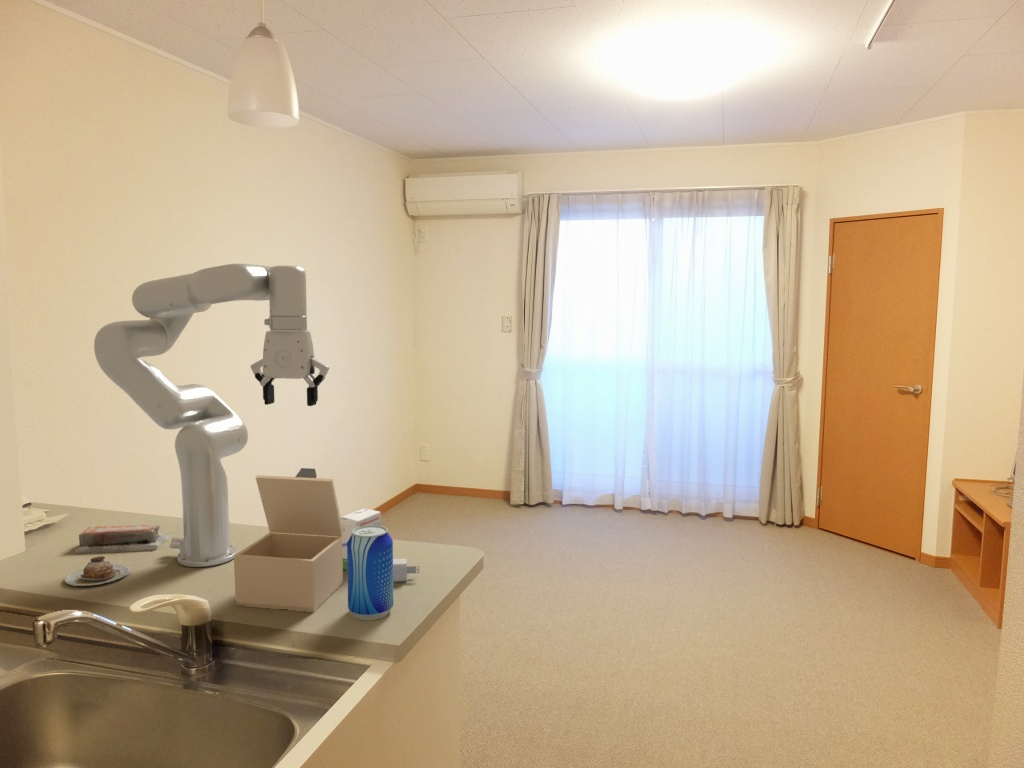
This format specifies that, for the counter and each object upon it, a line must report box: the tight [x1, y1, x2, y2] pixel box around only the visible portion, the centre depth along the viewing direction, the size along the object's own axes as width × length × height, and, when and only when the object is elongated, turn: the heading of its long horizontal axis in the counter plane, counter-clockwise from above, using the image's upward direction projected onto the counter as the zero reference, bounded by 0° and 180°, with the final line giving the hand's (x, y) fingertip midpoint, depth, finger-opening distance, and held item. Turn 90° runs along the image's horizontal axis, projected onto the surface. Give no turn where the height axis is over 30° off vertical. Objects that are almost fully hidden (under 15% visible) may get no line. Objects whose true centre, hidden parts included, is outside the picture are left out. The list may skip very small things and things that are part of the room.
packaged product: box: [75, 524, 170, 554], centre depth 171 cm, size 18×5×10 cm
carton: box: [233, 532, 344, 613], centre depth 143 cm, size 16×14×10 cm
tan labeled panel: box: [255, 467, 344, 537], centre depth 149 cm, size 16×14×7 cm
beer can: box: [346, 525, 394, 621], centre depth 135 cm, size 8×8×16 cm
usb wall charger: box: [393, 558, 420, 583], centre depth 152 cm, size 4×7×4 cm, turn 97°
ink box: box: [340, 508, 382, 571], centre depth 159 cm, size 8×5×12 cm, turn 152°
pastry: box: [63, 555, 130, 588], centre depth 151 cm, size 12×12×5 cm
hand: (290, 404), depth 154 cm, fingers open, 9 cm apart
